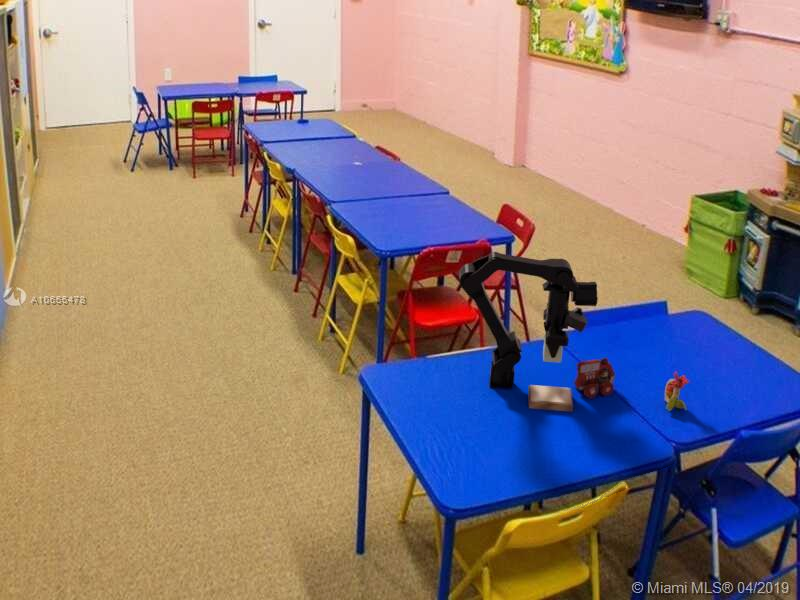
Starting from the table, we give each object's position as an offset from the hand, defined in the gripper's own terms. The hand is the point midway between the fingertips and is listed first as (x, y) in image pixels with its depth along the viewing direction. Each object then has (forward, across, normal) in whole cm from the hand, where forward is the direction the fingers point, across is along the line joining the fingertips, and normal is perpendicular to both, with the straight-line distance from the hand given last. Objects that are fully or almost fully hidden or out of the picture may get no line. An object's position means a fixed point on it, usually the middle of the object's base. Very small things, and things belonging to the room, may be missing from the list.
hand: (552, 353), depth 243 cm
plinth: (+11, -9, 0) cm, 14 cm away
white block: (+2, 0, 0) cm, 2 cm away
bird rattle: (+11, -6, -34) cm, 36 cm away
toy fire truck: (+11, -1, -13) cm, 17 cm away
